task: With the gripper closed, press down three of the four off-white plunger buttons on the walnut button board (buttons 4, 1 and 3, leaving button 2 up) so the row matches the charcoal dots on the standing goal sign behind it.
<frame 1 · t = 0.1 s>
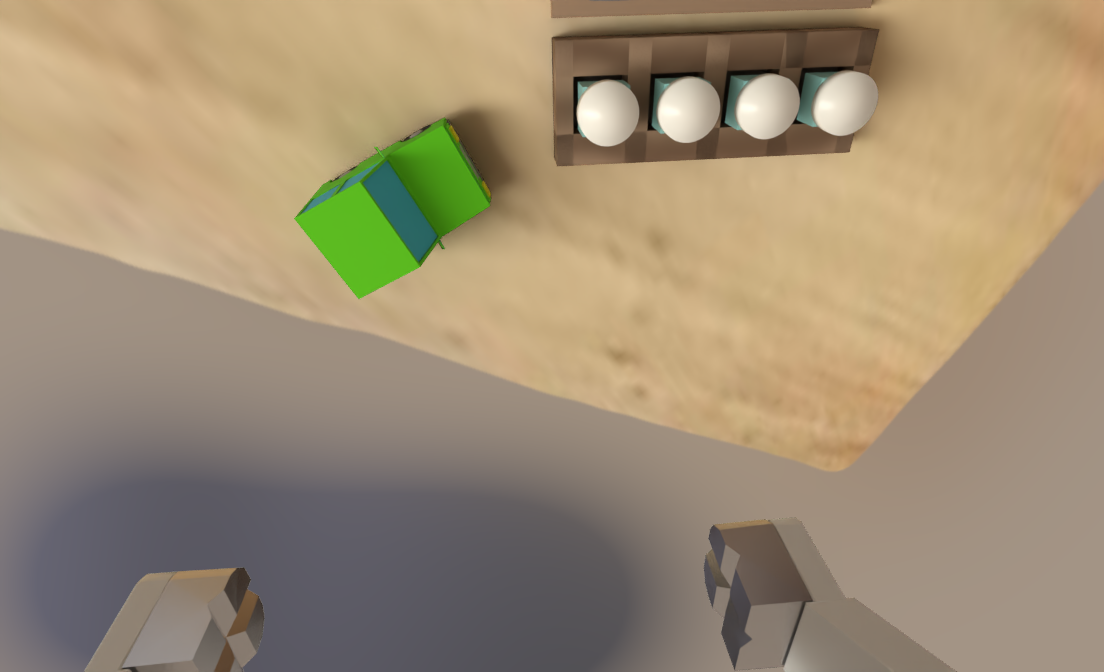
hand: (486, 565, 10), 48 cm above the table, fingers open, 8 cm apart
button 1: (604, 109, 47), point 5 cm above the table, slide at 0.0 cm
button 4: (834, 100, 48), point 5 cm above the table, slide at 0.0 cm
walnut button board: (701, 94, 52), on the table
button 3: (759, 103, 48), point 5 cm above the table, slide at 0.0 cm
toy car: (411, 184, 55), on the table
button 2: (682, 106, 48), point 5 cm above the table, slide at 0.0 cm
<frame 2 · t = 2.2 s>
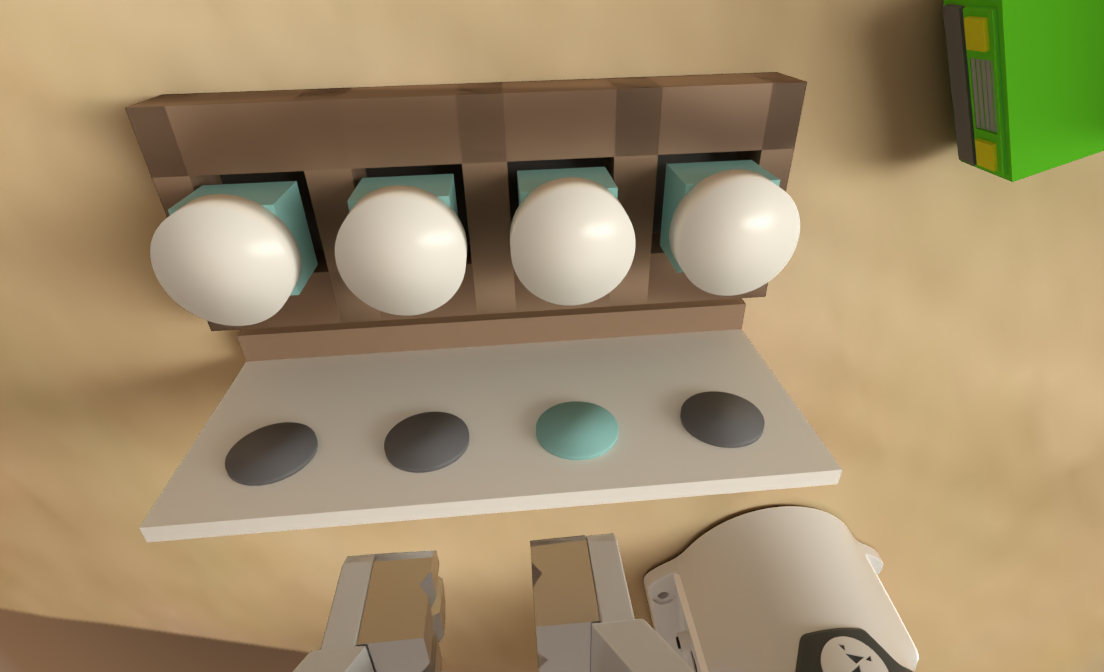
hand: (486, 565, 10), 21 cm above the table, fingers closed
button 1: (720, 221, 24), point 5 cm above the table, slide at 0.0 cm
button 4: (244, 246, 23), point 5 cm above the table, slide at 0.0 cm
walnut button board: (489, 193, 28), on the table
button 3: (408, 237, 24), point 5 cm above the table, slide at 0.0 cm
goal sign: (500, 341, 33), on the table
toy car: (1067, 12, 27), on the table
button 2: (567, 229, 24), point 5 cm above the table, slide at 0.0 cm
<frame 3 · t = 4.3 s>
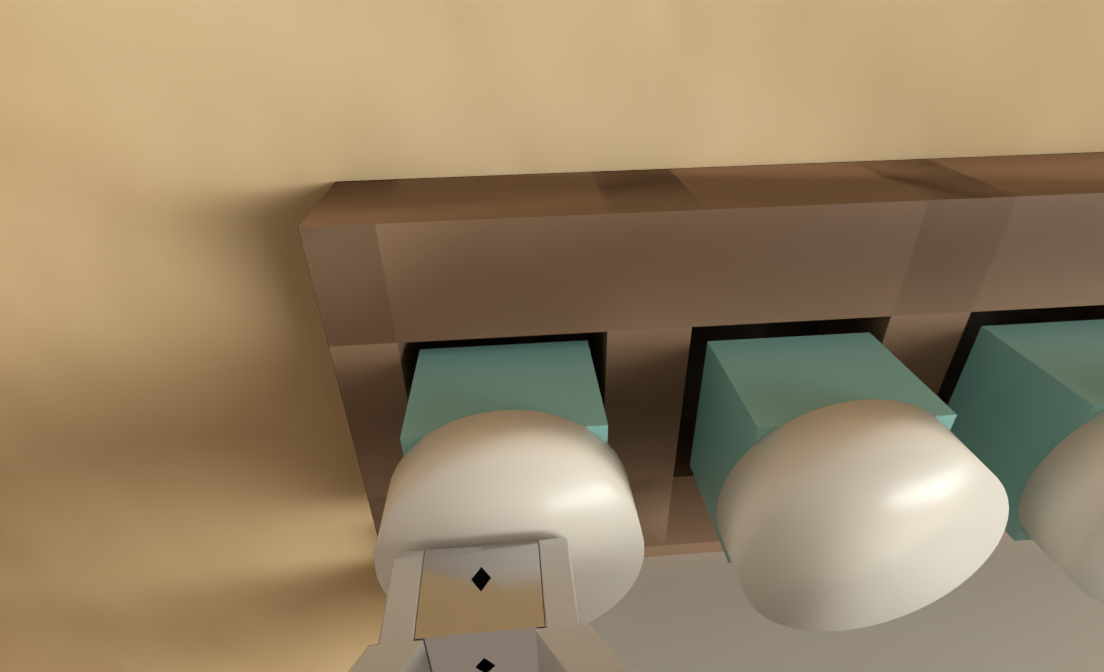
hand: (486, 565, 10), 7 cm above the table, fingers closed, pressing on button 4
button 4: (510, 475, 12), point 5 cm above the table, slide at 0.3 cm, touching gripper
walnut button board: (840, 333, 17), on the table
button 3: (815, 466, 12), point 5 cm above the table, slide at 0.0 cm
goal sign: (785, 530, 21), on the table
button 2: (1103, 446, 13), point 5 cm above the table, slide at 0.0 cm
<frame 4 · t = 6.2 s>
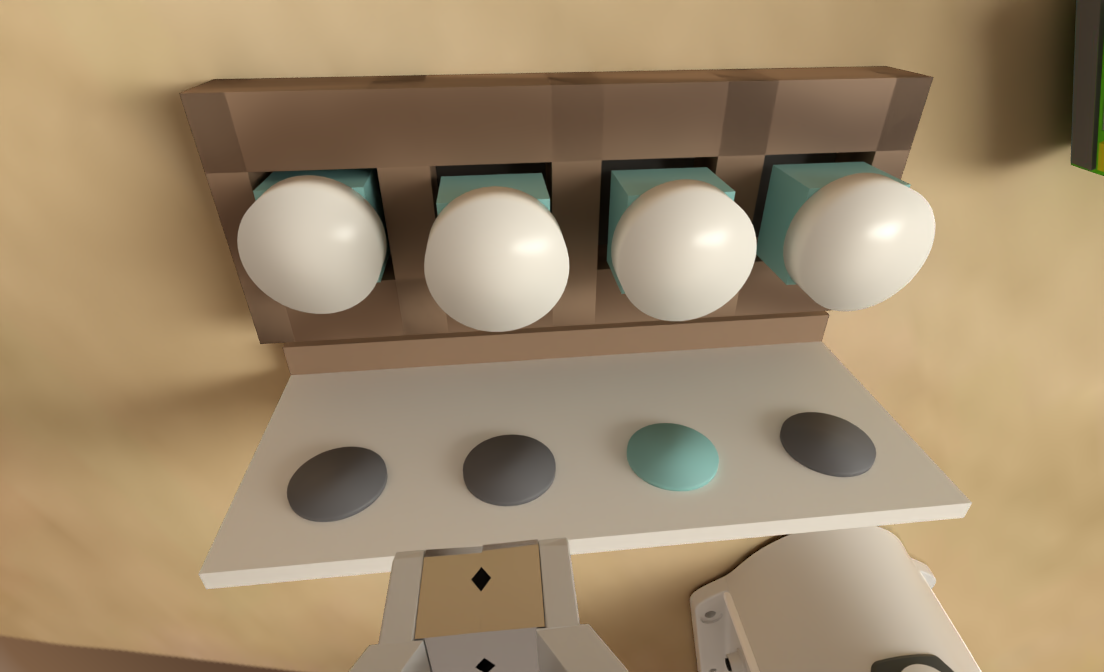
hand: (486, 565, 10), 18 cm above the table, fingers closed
button 1: (834, 228, 22), point 5 cm above the table, slide at 0.0 cm
button 4: (325, 231, 22), point 3 cm above the table, slide at 2.0 cm
walnut button board: (566, 194, 26), on the table
button 3: (496, 244, 21), point 5 cm above the table, slide at 0.0 cm
goal sign: (564, 353, 30), on the table
button 2: (670, 236, 22), point 5 cm above the table, slide at 0.0 cm
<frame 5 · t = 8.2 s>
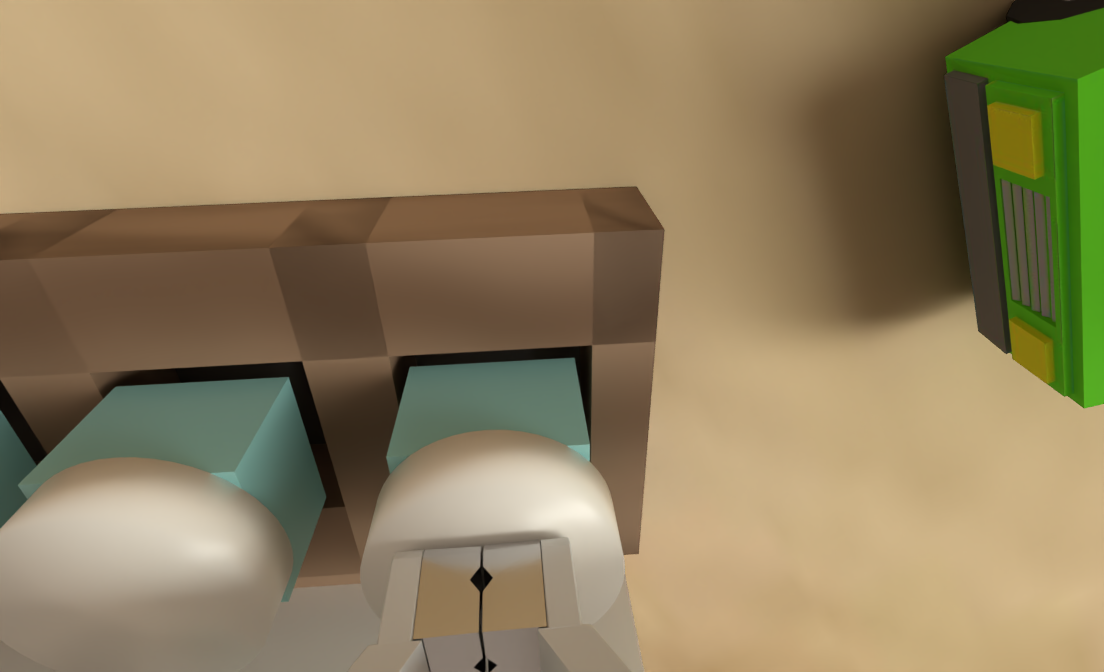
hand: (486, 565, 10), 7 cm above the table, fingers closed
button 1: (496, 491, 12), point 5 cm above the table, slide at 0.2 cm, touching gripper
walnut button board: (155, 381, 16), on the table
goal sign: (244, 574, 21), on the table
button 2: (185, 517, 12), point 5 cm above the table, slide at 0.0 cm
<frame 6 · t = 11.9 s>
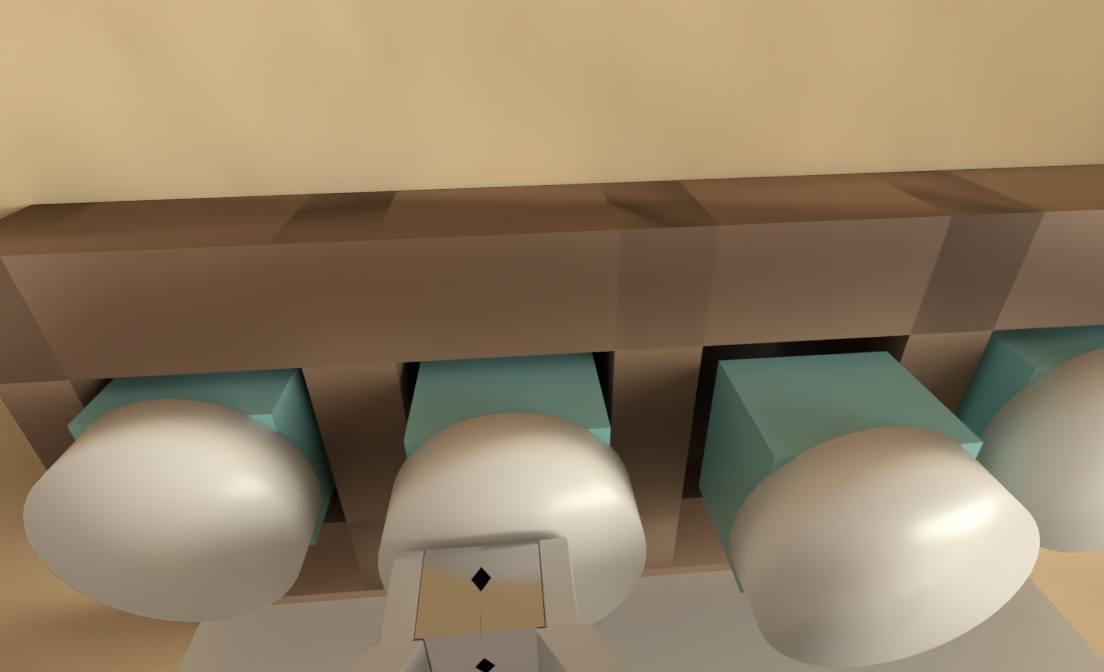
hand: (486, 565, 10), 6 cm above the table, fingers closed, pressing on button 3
button 1: (1051, 410, 14), point 3 cm above the table, slide at 2.1 cm
button 4: (218, 463, 13), point 3 cm above the table, slide at 2.0 cm
walnut button board: (627, 360, 16), on the table
button 3: (512, 477, 12), point 4 cm above the table, slide at 1.0 cm, touching gripper
goal sign: (614, 561, 20), on the table
button 2: (832, 492, 12), point 5 cm above the table, slide at 0.0 cm
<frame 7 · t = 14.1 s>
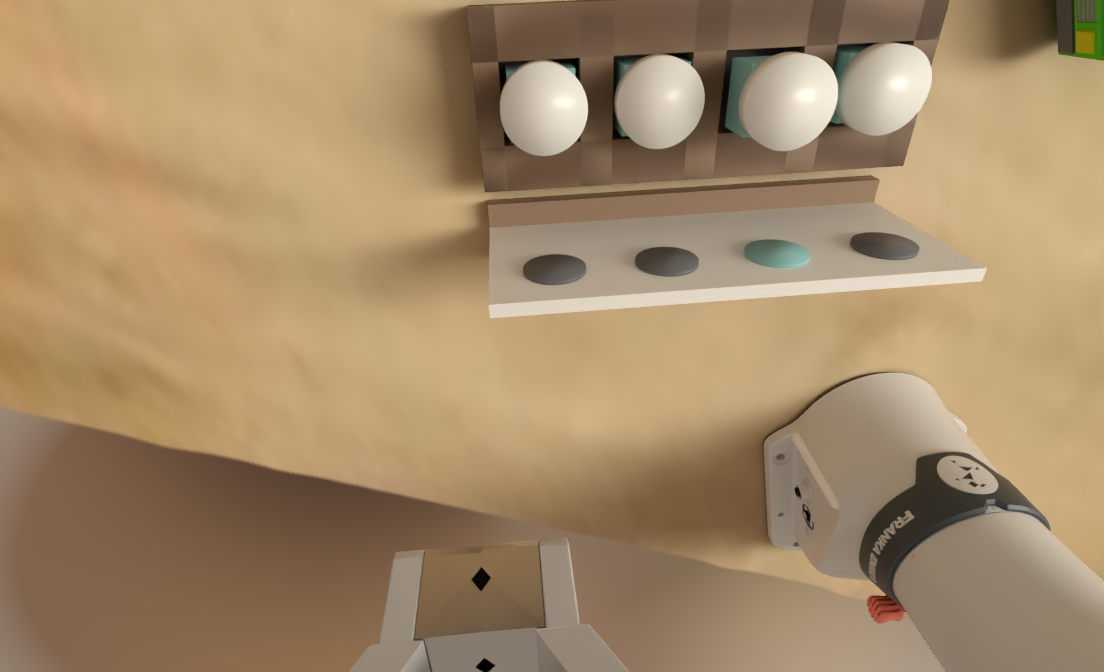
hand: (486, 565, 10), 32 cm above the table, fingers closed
button 1: (867, 85, 34), point 3 cm above the table, slide at 2.1 cm
button 4: (541, 104, 33), point 3 cm above the table, slide at 2.0 cm
walnut button board: (691, 86, 37), on the table
button 3: (652, 97, 34), point 3 cm above the table, slide at 2.0 cm
goal sign: (680, 215, 41), on the table
button 2: (775, 97, 32), point 5 cm above the table, slide at 0.0 cm
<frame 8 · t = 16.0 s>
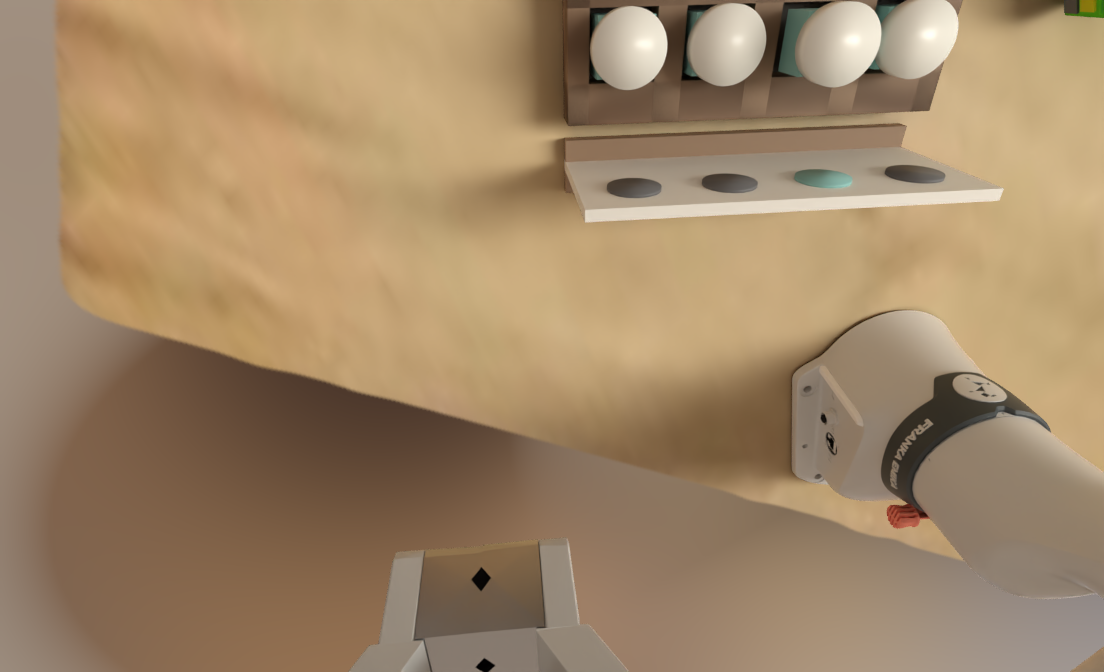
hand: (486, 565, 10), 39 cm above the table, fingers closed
button 1: (901, 37, 40), point 3 cm above the table, slide at 2.1 cm
button 4: (623, 46, 39), point 3 cm above the table, slide at 2.0 cm
walnut button board: (747, 37, 42), on the table
button 3: (718, 43, 39), point 3 cm above the table, slide at 2.0 cm
goal sign: (731, 156, 47), on the table
button 2: (825, 42, 38), point 5 cm above the table, slide at 0.0 cm
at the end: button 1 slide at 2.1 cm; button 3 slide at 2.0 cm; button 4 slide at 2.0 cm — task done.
